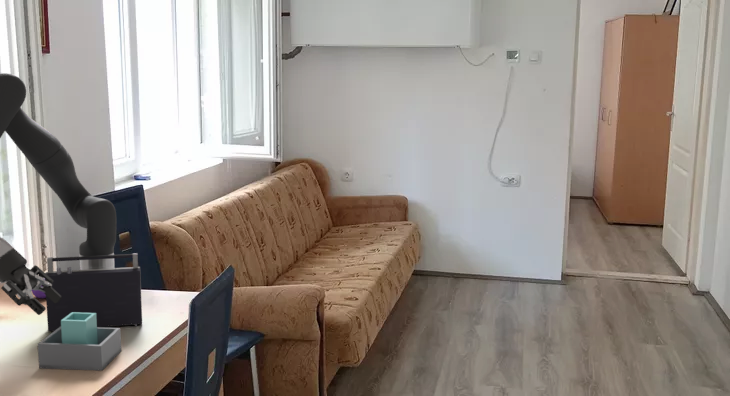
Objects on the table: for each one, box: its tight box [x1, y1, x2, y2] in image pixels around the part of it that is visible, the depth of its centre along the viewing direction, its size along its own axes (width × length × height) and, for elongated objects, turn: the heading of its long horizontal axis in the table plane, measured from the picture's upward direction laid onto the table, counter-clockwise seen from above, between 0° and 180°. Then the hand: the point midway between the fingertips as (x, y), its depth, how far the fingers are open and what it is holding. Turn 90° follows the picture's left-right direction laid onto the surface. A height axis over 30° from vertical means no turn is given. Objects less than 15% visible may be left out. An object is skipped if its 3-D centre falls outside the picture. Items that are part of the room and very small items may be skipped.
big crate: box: [37, 326, 122, 371], centre depth 177 cm, size 15×12×6 cm
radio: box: [44, 252, 143, 332], centre depth 198 cm, size 24×5×20 cm, turn 106°
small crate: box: [61, 312, 98, 345], centre depth 176 cm, size 6×6×10 cm
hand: (51, 306), depth 175 cm, fingers open, 8 cm apart
